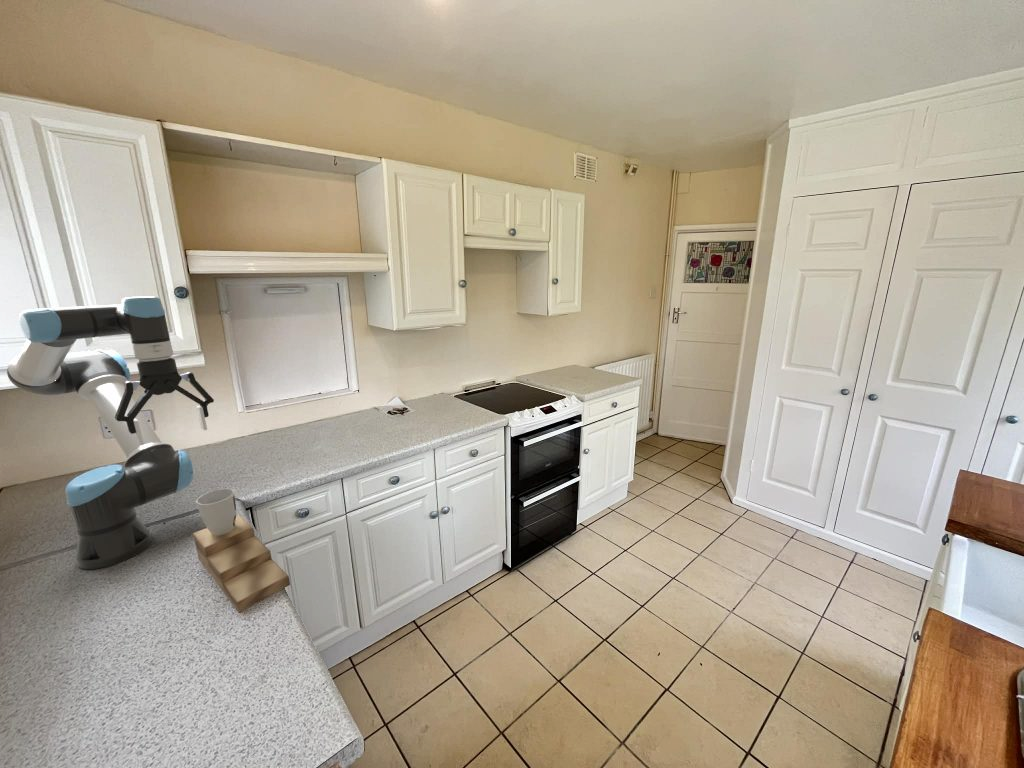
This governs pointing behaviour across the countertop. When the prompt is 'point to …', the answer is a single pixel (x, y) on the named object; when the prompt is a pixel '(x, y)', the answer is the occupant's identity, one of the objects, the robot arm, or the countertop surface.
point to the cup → (218, 511)
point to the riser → (240, 564)
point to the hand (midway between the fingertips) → (174, 436)
